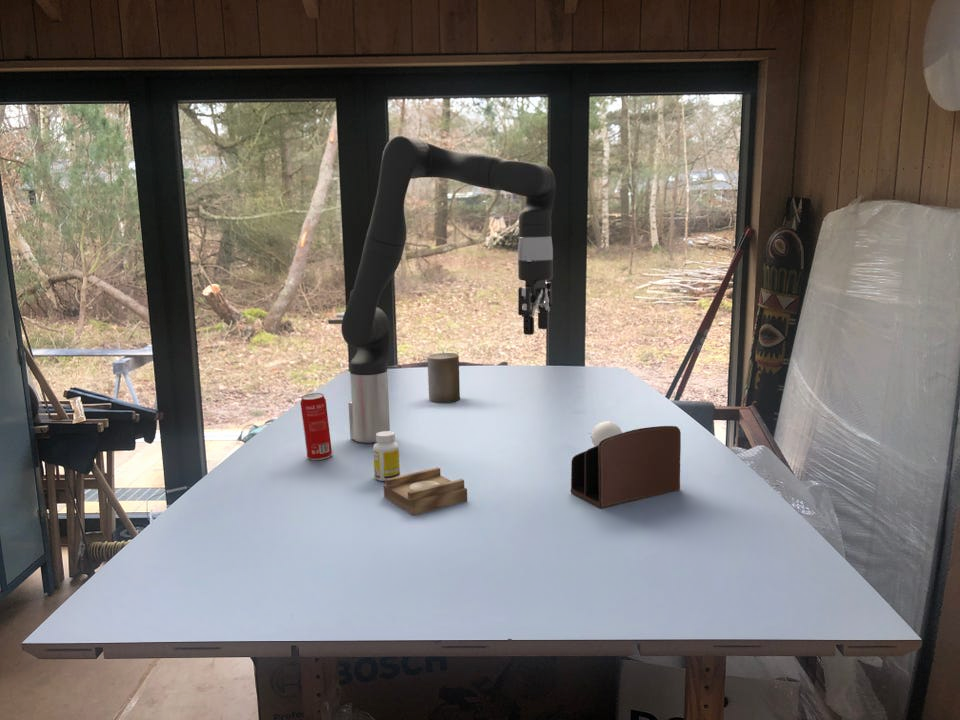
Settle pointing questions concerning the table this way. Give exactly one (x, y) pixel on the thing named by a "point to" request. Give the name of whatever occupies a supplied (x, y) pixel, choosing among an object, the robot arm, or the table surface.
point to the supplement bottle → (386, 456)
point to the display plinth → (424, 491)
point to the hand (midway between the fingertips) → (536, 331)
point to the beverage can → (316, 426)
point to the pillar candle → (443, 377)
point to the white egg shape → (604, 432)
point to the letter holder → (628, 467)
